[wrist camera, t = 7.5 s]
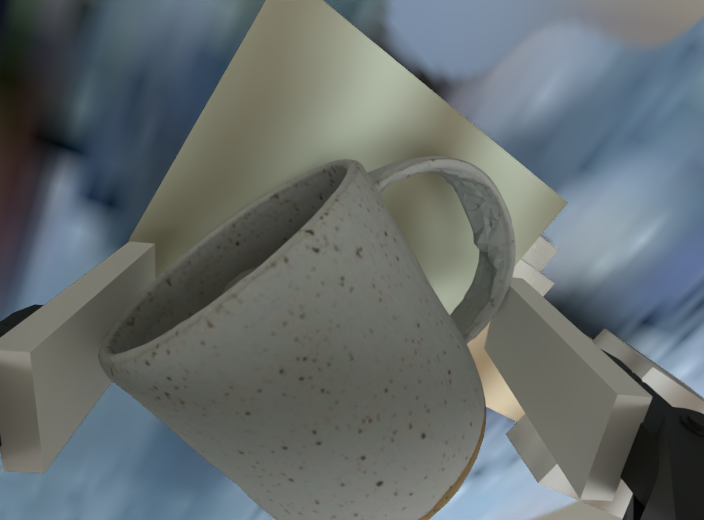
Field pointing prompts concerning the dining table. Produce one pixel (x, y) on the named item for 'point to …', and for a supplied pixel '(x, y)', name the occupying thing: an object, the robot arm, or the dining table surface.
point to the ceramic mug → (322, 347)
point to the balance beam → (372, 152)
